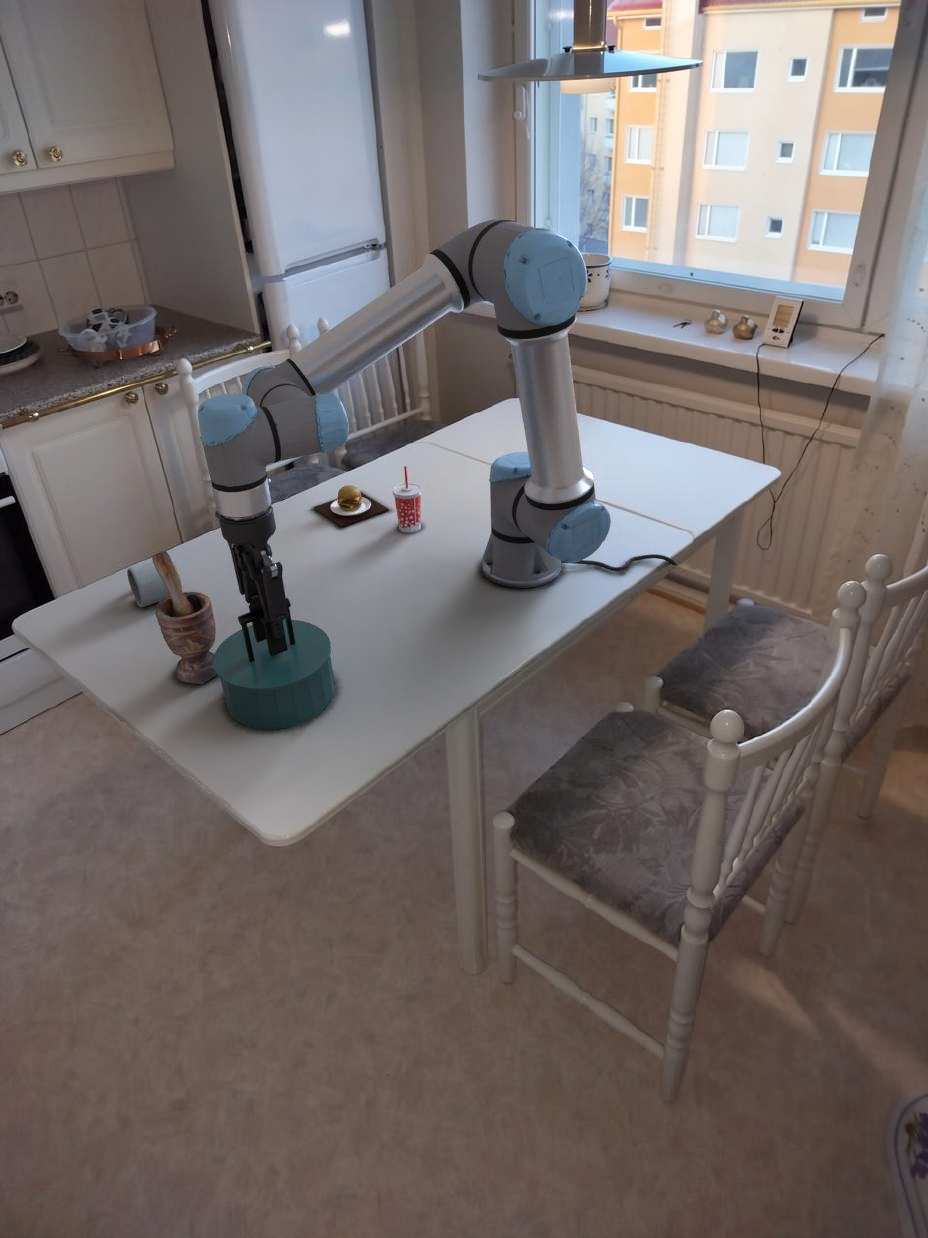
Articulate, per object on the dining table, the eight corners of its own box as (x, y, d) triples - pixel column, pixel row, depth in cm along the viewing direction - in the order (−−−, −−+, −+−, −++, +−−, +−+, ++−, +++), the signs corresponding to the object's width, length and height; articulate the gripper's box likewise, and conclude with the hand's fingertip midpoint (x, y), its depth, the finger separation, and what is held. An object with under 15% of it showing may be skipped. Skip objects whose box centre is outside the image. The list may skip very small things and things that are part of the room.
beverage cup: (415, 517, 188) (410, 457, 180) (429, 528, 184) (425, 467, 176) (390, 526, 185) (384, 465, 177) (404, 537, 181) (399, 475, 173)
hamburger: (342, 527, 185) (339, 504, 182) (313, 508, 193) (310, 486, 190) (388, 510, 191) (386, 488, 188) (359, 492, 199) (357, 470, 196)
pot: (354, 699, 137) (348, 658, 133) (256, 745, 129) (247, 704, 125) (302, 650, 149) (296, 611, 144) (209, 690, 140) (199, 650, 136)
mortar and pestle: (150, 669, 146) (120, 566, 134) (190, 643, 151) (164, 543, 140) (196, 692, 140) (168, 587, 129) (236, 665, 146) (213, 562, 135)
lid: (353, 662, 133) (346, 611, 128) (245, 710, 124) (233, 658, 119) (297, 612, 145) (289, 564, 140) (195, 653, 136) (183, 603, 131)
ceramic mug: (187, 599, 163) (178, 563, 159) (145, 614, 160) (134, 578, 155) (168, 577, 171) (158, 542, 167) (126, 591, 167) (116, 556, 163)
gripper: (298, 522, 116) (320, 661, 129) (243, 481, 128) (268, 612, 141) (247, 539, 113) (275, 681, 126) (194, 495, 124) (225, 629, 137)
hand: (271, 644), depth 133 cm, fingers open, 4 cm apart
